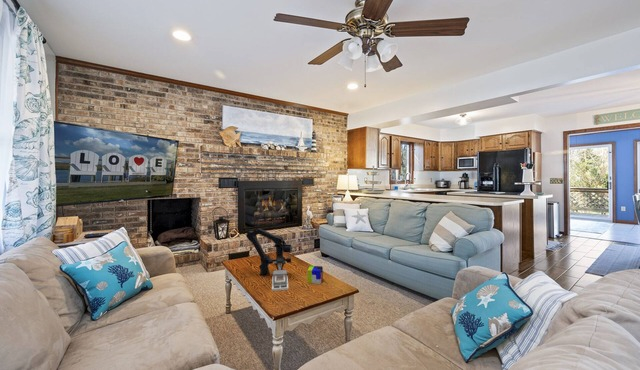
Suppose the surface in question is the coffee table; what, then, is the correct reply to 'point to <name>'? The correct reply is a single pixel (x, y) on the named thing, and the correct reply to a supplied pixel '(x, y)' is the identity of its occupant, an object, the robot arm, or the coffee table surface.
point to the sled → (280, 275)
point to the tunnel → (278, 273)
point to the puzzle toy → (315, 274)
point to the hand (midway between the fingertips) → (279, 270)
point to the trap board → (280, 284)
